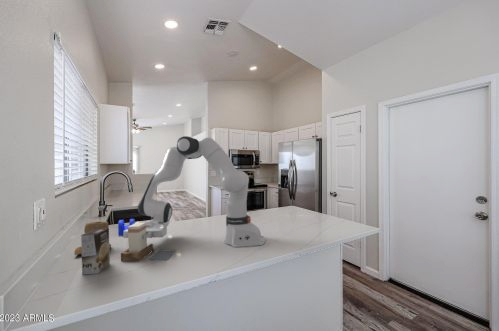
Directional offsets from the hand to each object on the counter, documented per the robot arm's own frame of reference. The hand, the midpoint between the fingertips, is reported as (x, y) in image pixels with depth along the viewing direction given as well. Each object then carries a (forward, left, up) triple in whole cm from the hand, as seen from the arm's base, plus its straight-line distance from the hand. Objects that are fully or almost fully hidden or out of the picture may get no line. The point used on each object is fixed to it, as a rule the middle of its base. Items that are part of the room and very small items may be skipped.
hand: (136, 237), depth 108 cm
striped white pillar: (0, -1, -8) cm, 8 cm away
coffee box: (+10, +13, -9) cm, 19 cm away
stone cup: (+27, -7, -9) cm, 30 cm away
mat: (-12, -1, -9) cm, 15 cm away
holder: (0, -1, -9) cm, 9 cm away
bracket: (+29, -41, -9) cm, 51 cm away
